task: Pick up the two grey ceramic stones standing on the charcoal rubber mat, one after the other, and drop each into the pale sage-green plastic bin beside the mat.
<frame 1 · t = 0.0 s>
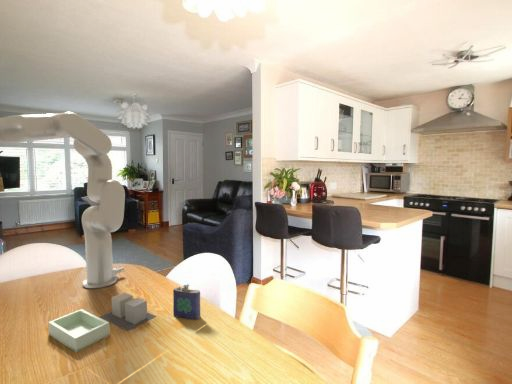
stone 1: (122, 312, 94), resting on mat
bin: (79, 335, 82), on the table
mat: (128, 317, 92), on the table
flask: (186, 318, 92), on the table
stone 2: (136, 318, 91), resting on mat
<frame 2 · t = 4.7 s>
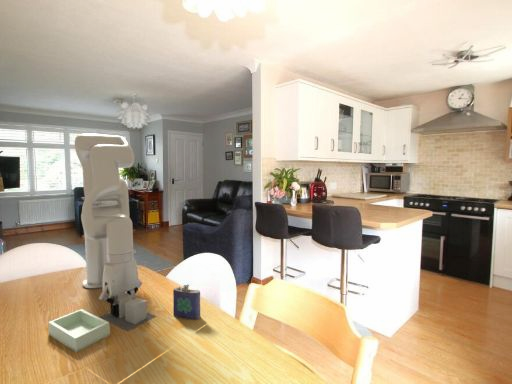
hand: (122, 311, 94), 1 cm above the table, fingers closed on stone 1, 4 cm apart
stone 1: (122, 312, 94), resting on mat, touching gripper
everything else where it was.
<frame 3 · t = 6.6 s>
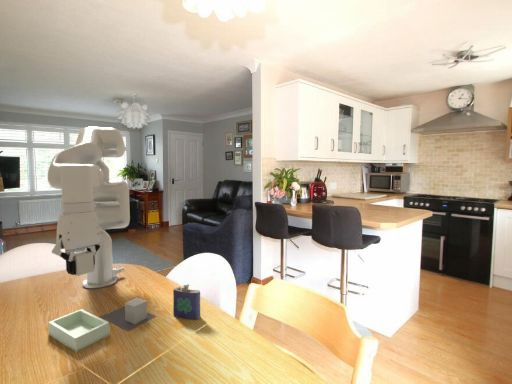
hand: (81, 270, 84), 18 cm above the table, fingers closed on stone 1, 4 cm apart
stone 1: (81, 272, 84), point 17 cm above the table, touching gripper
everything else where it was.
when the fingers open (4 cm above the table, at t = 8.6 s): stone 1 drops 3 cm, resting on bin.
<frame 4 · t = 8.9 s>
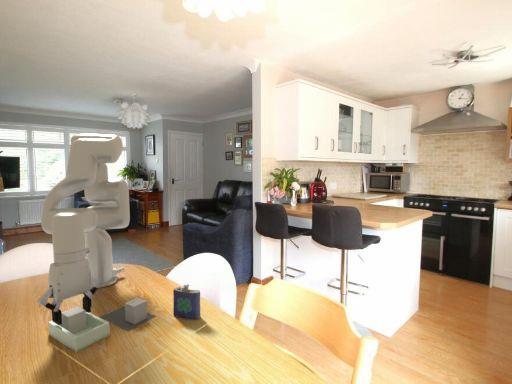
hand: (73, 316, 83), 5 cm above the table, fingers open, 7 cm apart
stone 1: (74, 329, 84), point 1 cm above the table, touching bin
everything else where it was.
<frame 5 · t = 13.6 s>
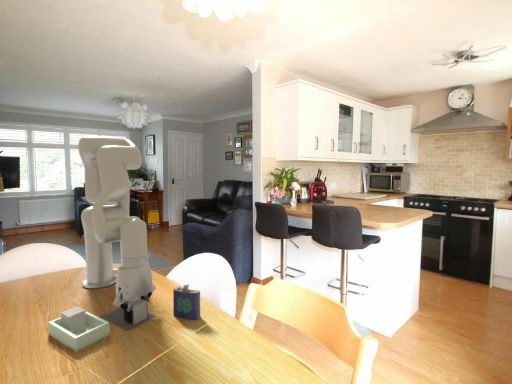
hand: (136, 317, 91), 1 cm above the table, fingers closed on stone 2, 4 cm apart
stone 2: (136, 318, 91), resting on mat, touching gripper
everything else where it was.
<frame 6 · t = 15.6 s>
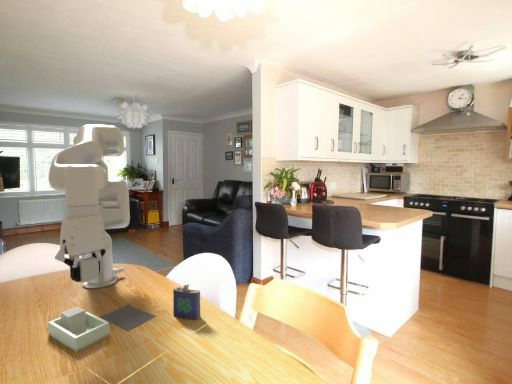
hand: (86, 276, 80), 18 cm above the table, fingers closed on stone 2, 4 cm apart
stone 2: (86, 278, 80), point 17 cm above the table, touching gripper
everything else where it was.
when the fingers open (4 cm above the table, at t = 17.5 s): stone 2 drops 3 cm, resting on bin.
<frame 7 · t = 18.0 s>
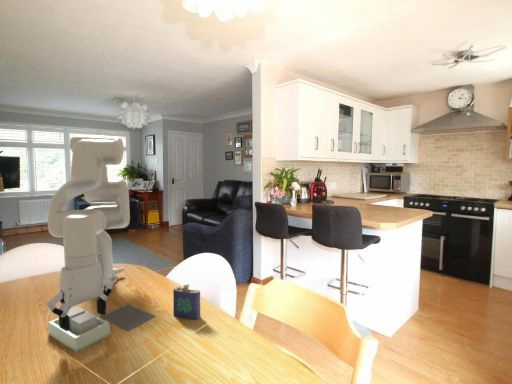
hand: (84, 320, 80), 5 cm above the table, fingers open, 9 cm apart
stone 2: (84, 336, 80), point 1 cm above the table, touching bin
everything else where it was.
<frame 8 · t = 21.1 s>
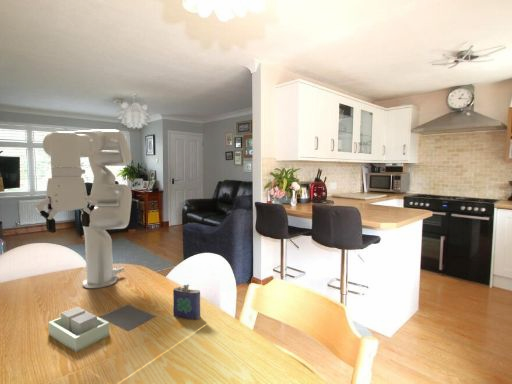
hand: (69, 229, 90), 28 cm above the table, fingers open, 9 cm apart
nothing on the table moved.
at the end: stone 1 inside the target area on the bin (3.0 cm from its centre), point 0.8 cm above the bin's base; stone 2 inside the target area on the bin (3.0 cm from its centre), point 0.8 cm above the bin's base; the gripper is holding nothing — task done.
